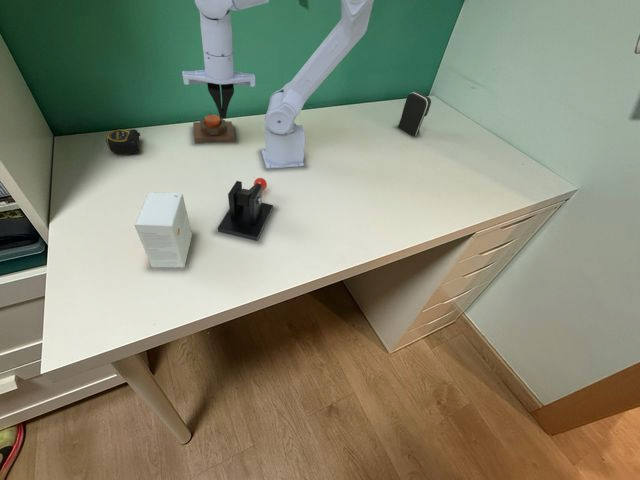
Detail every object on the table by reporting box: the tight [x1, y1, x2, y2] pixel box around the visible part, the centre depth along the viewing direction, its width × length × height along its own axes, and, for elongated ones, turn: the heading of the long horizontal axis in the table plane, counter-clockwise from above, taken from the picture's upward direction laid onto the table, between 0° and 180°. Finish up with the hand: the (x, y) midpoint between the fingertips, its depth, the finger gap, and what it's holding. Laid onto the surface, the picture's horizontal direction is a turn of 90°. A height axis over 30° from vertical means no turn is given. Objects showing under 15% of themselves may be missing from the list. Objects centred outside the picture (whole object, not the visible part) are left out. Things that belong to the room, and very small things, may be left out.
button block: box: [192, 117, 236, 145], centre depth 86 cm, size 10×8×4 cm
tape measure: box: [105, 129, 141, 155], centre depth 77 cm, size 7×7×4 cm
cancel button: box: [204, 114, 220, 127], centre depth 84 cm, size 4×4×2 cm
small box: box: [134, 191, 193, 268], centre depth 55 cm, size 8×6×10 cm
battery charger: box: [397, 91, 432, 137], centre depth 98 cm, size 7×4×11 cm, turn 41°
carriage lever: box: [237, 177, 268, 207], centre depth 67 cm, size 12×3×3 cm, turn 168°
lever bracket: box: [217, 180, 274, 242], centre depth 64 cm, size 10×8×8 cm
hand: (222, 116), depth 75 cm, fingers closed
